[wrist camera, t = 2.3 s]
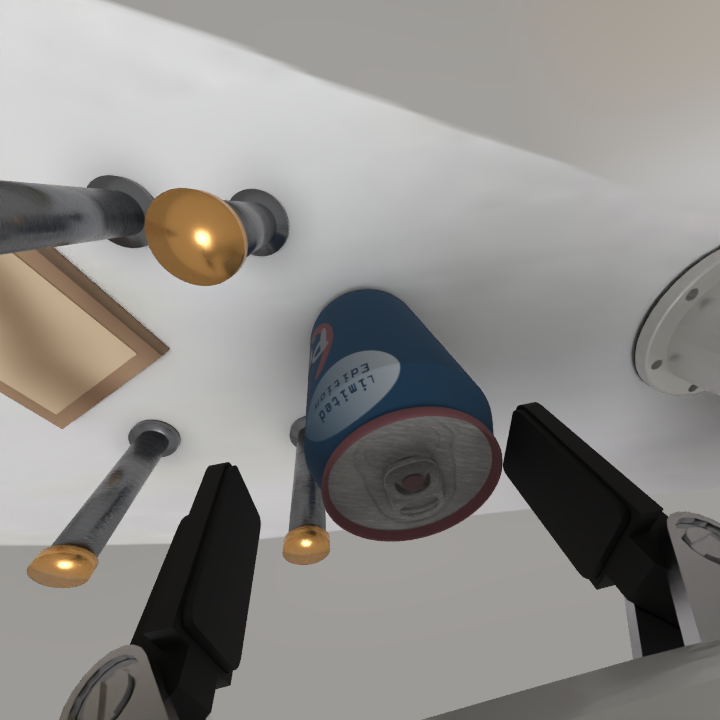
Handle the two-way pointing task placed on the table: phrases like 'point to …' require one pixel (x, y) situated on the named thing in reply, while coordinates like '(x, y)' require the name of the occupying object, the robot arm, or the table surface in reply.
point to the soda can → (394, 423)
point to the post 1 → (72, 214)
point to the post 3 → (213, 232)
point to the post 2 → (103, 509)
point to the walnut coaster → (64, 337)
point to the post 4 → (305, 510)
